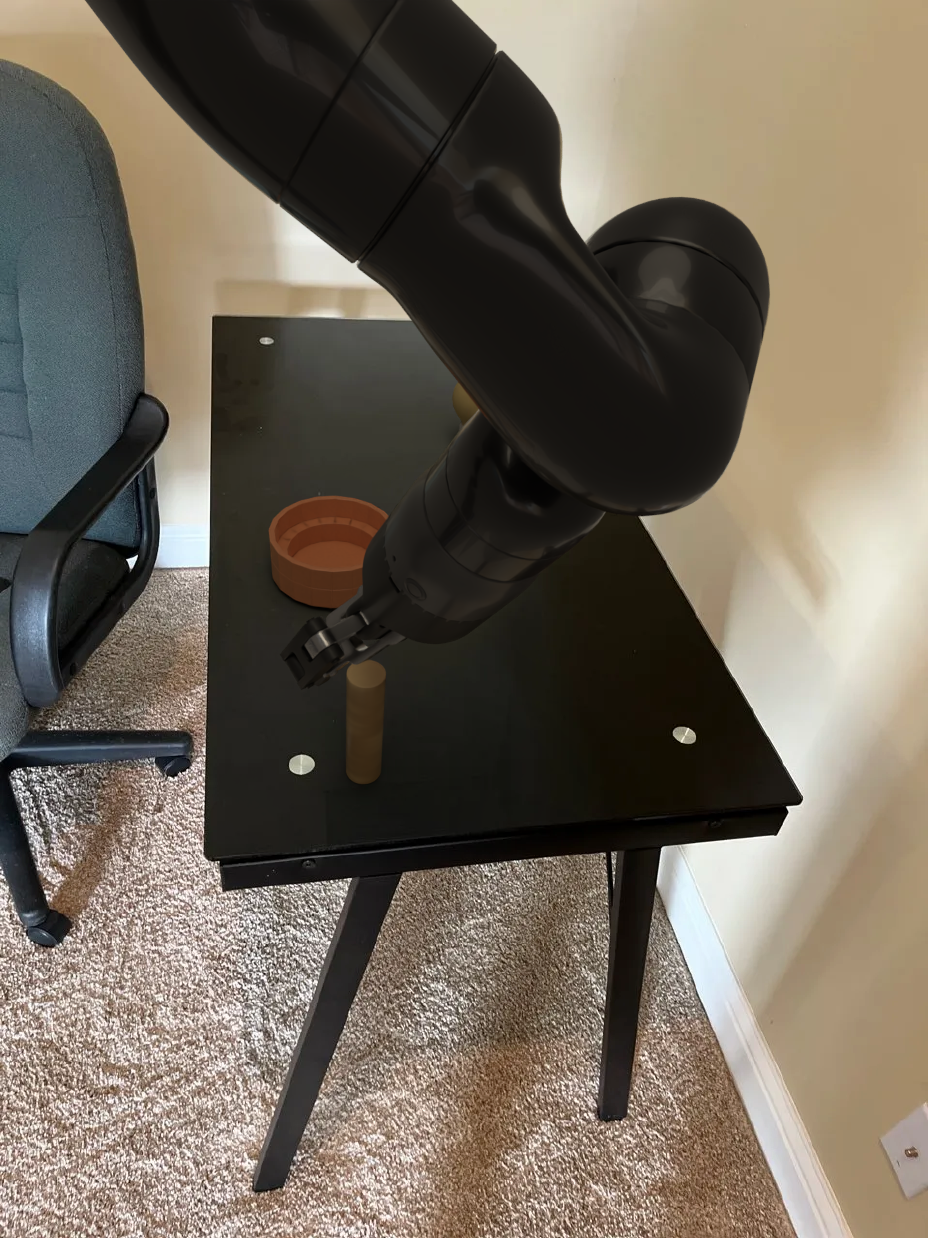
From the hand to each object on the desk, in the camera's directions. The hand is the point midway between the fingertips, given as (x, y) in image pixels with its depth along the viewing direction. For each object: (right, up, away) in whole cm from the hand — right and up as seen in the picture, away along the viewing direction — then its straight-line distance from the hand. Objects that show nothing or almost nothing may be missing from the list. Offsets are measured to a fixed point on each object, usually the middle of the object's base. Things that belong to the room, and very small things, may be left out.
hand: (365, 641), depth 56 cm
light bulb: (+8, +25, +58) cm, 63 cm away
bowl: (-8, +7, +34) cm, 36 cm away
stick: (-2, -11, +15) cm, 19 cm away
